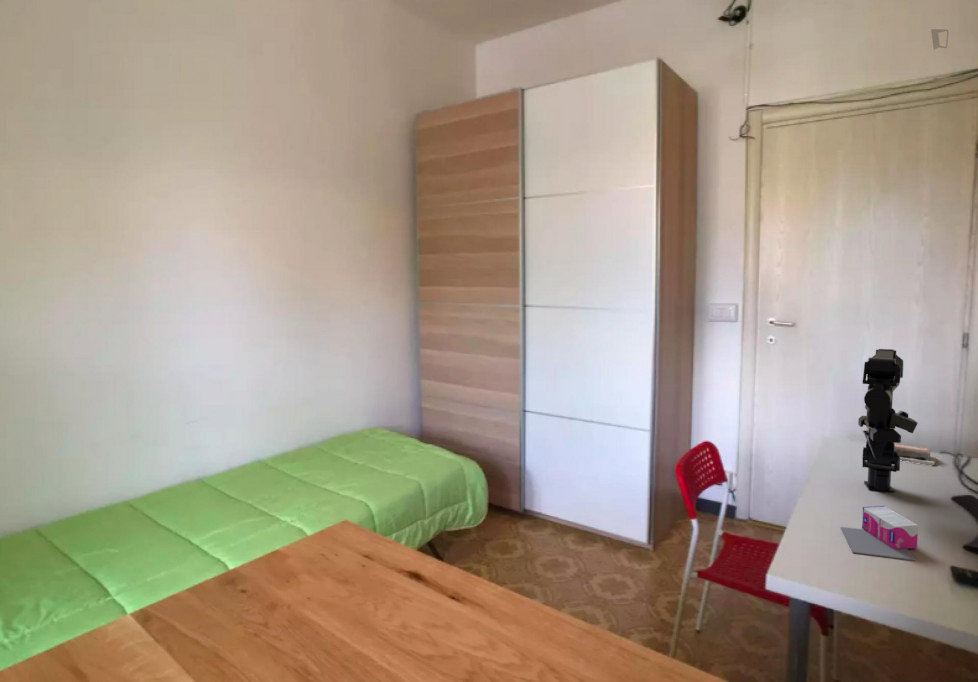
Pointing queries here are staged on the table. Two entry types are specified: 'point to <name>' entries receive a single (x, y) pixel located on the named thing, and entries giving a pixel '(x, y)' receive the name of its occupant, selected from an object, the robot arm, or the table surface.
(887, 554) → the mat
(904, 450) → the packaged product
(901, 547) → the supplement box
